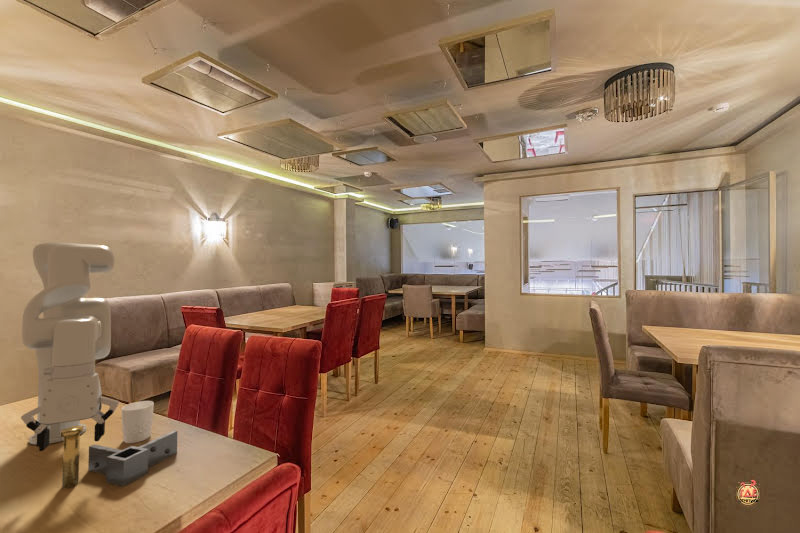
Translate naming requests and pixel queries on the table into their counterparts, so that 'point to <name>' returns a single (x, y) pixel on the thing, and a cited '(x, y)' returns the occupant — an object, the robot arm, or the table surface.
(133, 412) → the white cup
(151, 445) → the hinge body
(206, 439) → the table surface
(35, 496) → the table surface
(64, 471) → the hinge pin
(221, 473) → the table surface
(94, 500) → the table surface
